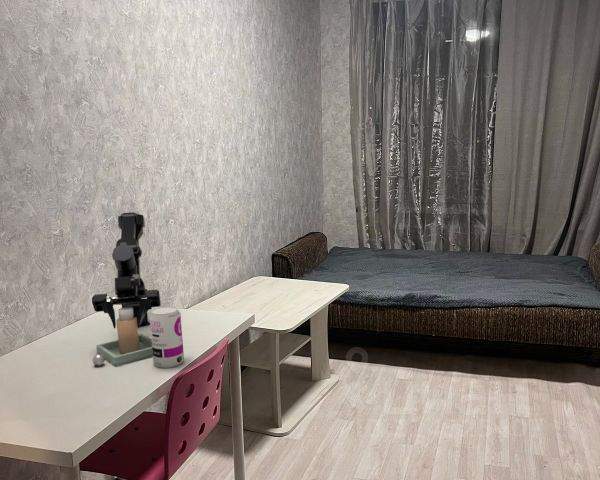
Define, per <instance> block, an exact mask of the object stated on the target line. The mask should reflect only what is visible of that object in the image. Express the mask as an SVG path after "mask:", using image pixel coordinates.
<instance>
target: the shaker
mask: <svg viewBox="0 0 600 480" xmlns="http://www.w3.org/2000/svg"><path fill="white" fill-rule="evenodd" d="M117 311H118V318H117V319H115V321H116V329H117V340H118V342H119V352H120V354H126V353H130V352H134V351H138V350H140V348H139V337H138V335H139V327H138V326H137V317H134V314H133V308H132V307H124V308H122V307H120V308H118V309H117Z"/></svg>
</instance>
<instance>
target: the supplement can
mask: <svg viewBox="0 0 600 480" xmlns="http://www.w3.org/2000/svg"><path fill="white" fill-rule="evenodd" d="M149 322H150V324H149V326H150V336H151V337H150V339H152V350H153V357H152V359H153V364H154V365H155V366H156V367H157V368H160V369H161V368H162V369H169V368H175V367H178V366H179V365H182V363H183V362H184V360H185V356H184V355H185V354H184V341H183V329H182V328H183V327H182V326H183V325H182V316H181V312H180V310H179V308H177V307H176V306H159V307H157V308H156V307H155V308H154V309H151V313H150V315H149Z"/></svg>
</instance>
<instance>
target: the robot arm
mask: <svg viewBox="0 0 600 480" xmlns="http://www.w3.org/2000/svg"><path fill="white" fill-rule="evenodd" d="M117 222H118V225H117V226H118V229H119V230H121V231H120V232H121V234H120V239H118V240H117V241H116V244H115V247H114V248H113V250H112V254H111V256H112V260H113V261H114V264H115V268H116V270H117V272H116V273H117V274H116V275H117V276H116V277H115V278H114V290H115V291H114V293H115V295H116V297H111V296H108V293H100V294H99V293H98V294H97V293H95V294H93V296H92V297H91V304H92V306H93V309H94V311H95V312H103V313H104V314H108V316H109V318H110V321H111V324H112V326H113V329H117V321H116V311H115V308H114V305H121V308H124V307H132V308H133V314H134V317H137V326H138V328H140V327H144V326H148V325H149V326H150V321H149V320H148V319H149V318H148V311H149V310H153V308H156V307H157V308H160V307H162V306H161V305H162V303H161V302H162V301H161V293H160V291H159V290H158V289H149V290H148V289H147V288H146V285H145V282H144V281H143V278H142V277H141V264H140V260H141V257H142V256H143V250H142V248H141V247H140V239H141V238H142V236H143V235H144V228H146V223H145V222H146V221H145V217H144V215H143V214H140V213H137V212H133V211H132V212H123V213H121V214H120V215H118V216H117Z"/></svg>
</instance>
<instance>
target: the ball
mask: <svg viewBox="0 0 600 480" xmlns="http://www.w3.org/2000/svg"><path fill="white" fill-rule="evenodd" d="M105 361H106V359H105V358H104V356H103V355H101V354H95V355H94V356H93V357H92V363H93V365H94V366H95V367H99V366H100V367H101V366H103V365H104V363H105Z"/></svg>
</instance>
